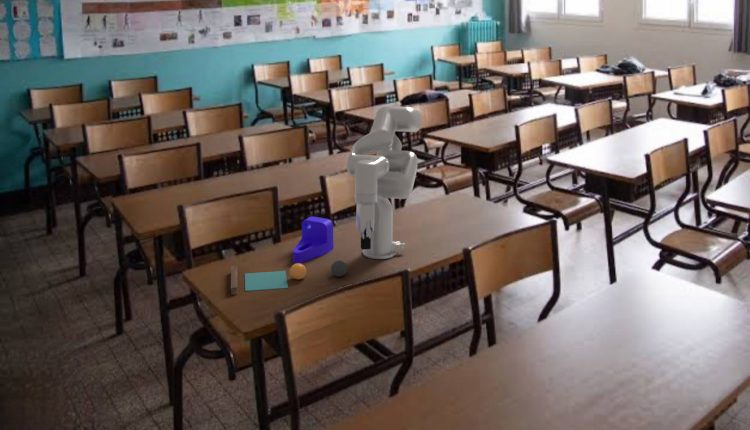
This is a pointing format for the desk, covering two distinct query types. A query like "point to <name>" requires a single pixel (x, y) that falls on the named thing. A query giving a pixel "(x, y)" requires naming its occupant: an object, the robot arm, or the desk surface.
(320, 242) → the bracket
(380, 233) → the robot arm
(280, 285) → the teal mark
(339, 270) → the grey ball
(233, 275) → the wooden bar
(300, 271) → the orange ball
